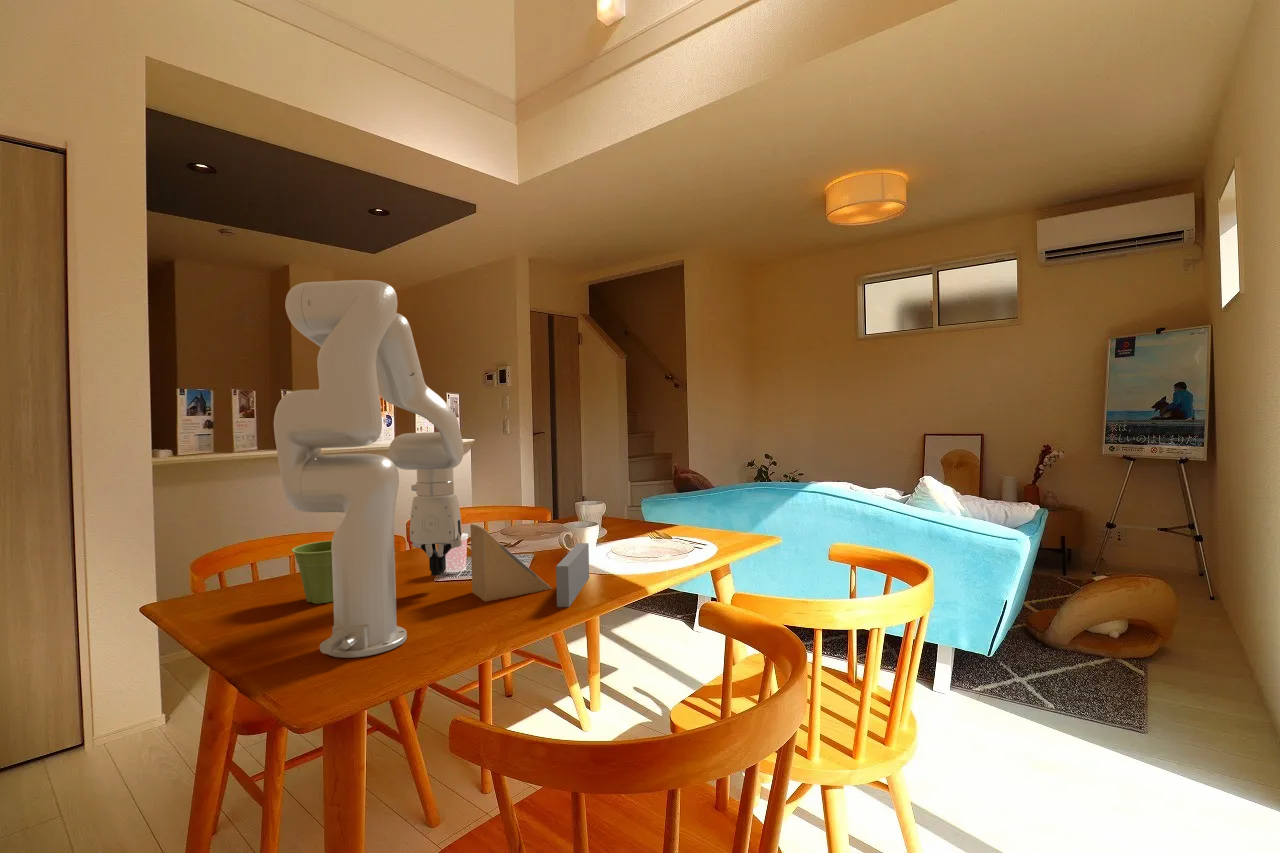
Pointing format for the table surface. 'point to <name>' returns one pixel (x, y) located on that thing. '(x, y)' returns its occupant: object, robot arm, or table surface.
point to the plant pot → (316, 570)
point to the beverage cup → (457, 556)
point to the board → (572, 574)
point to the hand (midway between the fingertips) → (437, 573)
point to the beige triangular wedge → (499, 569)
